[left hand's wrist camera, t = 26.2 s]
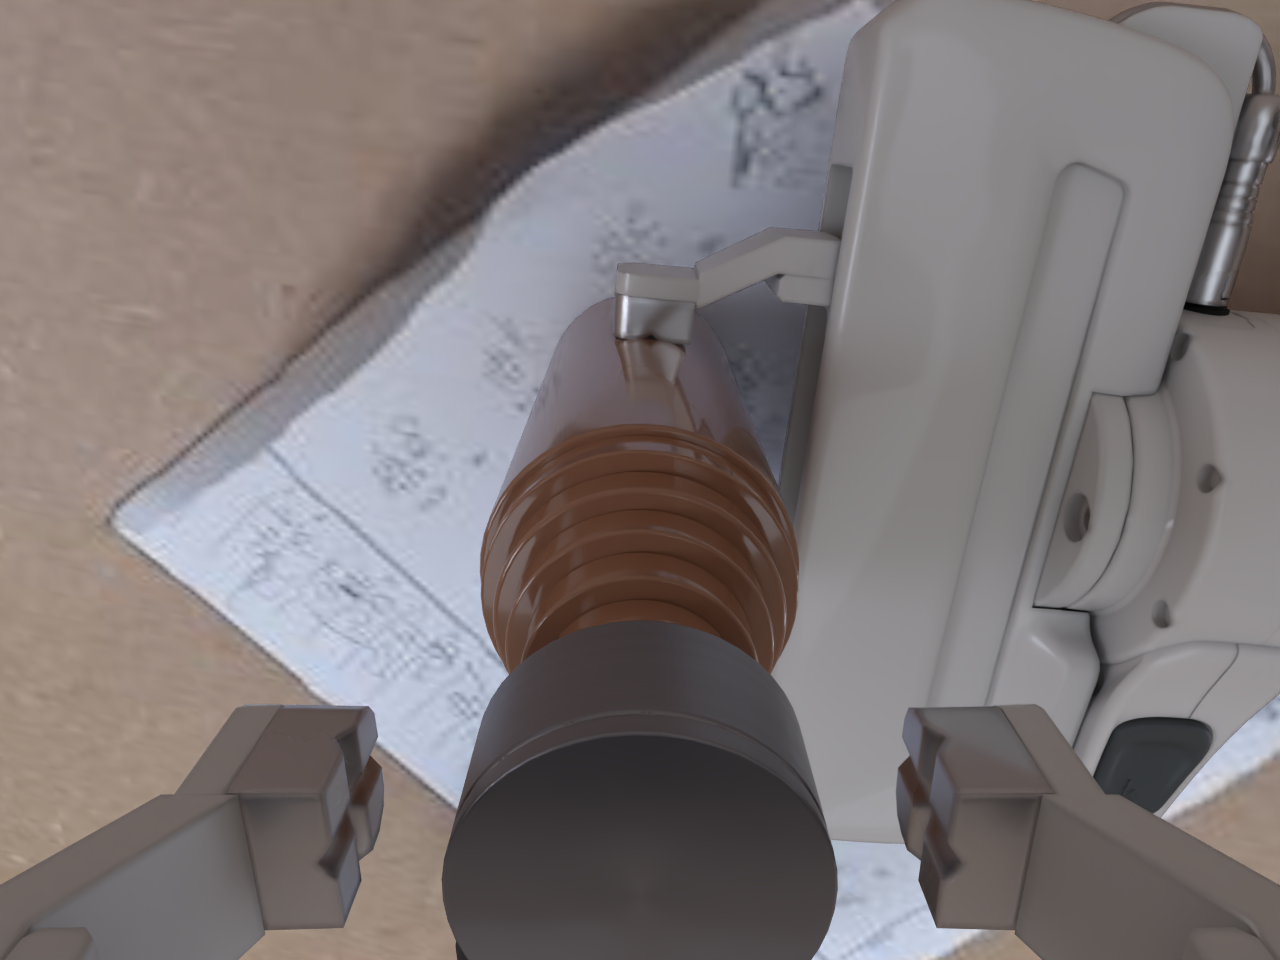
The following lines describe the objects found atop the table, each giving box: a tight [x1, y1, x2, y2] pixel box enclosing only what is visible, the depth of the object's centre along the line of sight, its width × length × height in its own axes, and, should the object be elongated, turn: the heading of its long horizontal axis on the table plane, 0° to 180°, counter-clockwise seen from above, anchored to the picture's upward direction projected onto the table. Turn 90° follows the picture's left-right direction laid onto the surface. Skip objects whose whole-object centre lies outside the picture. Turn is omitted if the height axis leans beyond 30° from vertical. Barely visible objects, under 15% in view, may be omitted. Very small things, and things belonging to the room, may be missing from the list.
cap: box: [442, 620, 838, 960], centre depth 10 cm, size 4×4×2 cm
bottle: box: [480, 297, 800, 675], centre depth 18 cm, size 5×5×18 cm
